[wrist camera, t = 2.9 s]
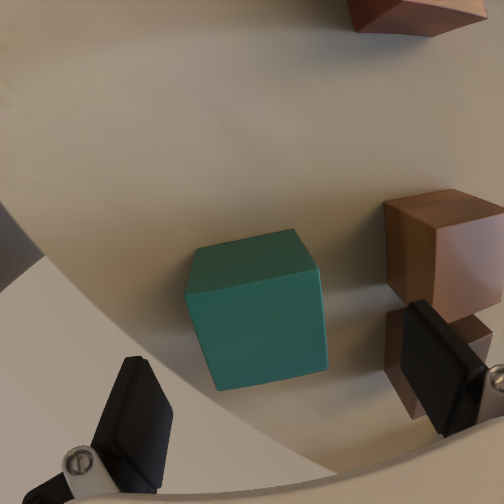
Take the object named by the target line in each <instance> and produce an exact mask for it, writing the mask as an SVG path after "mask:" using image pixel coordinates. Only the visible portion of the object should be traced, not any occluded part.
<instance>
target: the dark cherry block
mask: <svg viewBox="0 0 504 504" xmlns="http://www.w3.org/2000/svg"><path fill="white" fill-rule="evenodd" d="M347 3H348V6H349V10H350V13H351V17H352V20H353V24H354V27H355V31H356V32H357V33H391V34H406V35H418V36H428V37H434V36H437V35H439V34H442V33H445V32H448V31H451V30H454V29H457V28H460V27H463V26H466V25H469V24H473V23H476V22H479V21H483V20H486V19H488V16H487V13H486V10H485V7H484V4H483V1H482V0H347Z"/></svg>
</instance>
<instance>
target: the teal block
mask: <svg viewBox="0 0 504 504" xmlns="http://www.w3.org/2000/svg"><path fill="white" fill-rule="evenodd" d="M184 300H185V303H186V306H187V309H188V312H189V315H190V317H191V320H192V323H193V326H194V329H195V332H196V335H197V338H198V340H199V343H200V346H201V349H202V352H203V354H204V357H205V360H206V362H207V365H208V368H209V370H210V373H211V376H212V378H213V381H214V384H215V386H216V389H217V390H218V391H223V390H230V389H236V388H242V387H248V386H253V385H259V384H264V383H269V382H274V381H279V380H284V379H289V378H294V377H298V376H302V375H307V374H311V373H315V372H319V371H323V370H327V369H328V368H329V364H328V351H327V339H326V328H325V318H324V308H323V298H322V289H321V280H320V272H319V268H318V267H317V265H316V263H315V262H314V260H313V259H312V257H311V255H310V254H309V252H308V251H307V249H306V248H305V246H304V244H303V243H302V241H301V240H300V238H299V237H298V235H297V234H296V232H295V230H294V229H290V230H285V231H280V232H275V233H270V234H266V235H261V236H256V237H251V238H246V239H242V240H237V241H232V242H227V243H223V244H218V245H213V246H208V247H204V248H199V249H196V252H195V256H194V260H193V263H192V267H191V271H190V274H189V278H188V282H187V286H186V289H185V293H184Z"/></svg>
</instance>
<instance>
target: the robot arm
mask: <svg viewBox="0 0 504 504" xmlns="http://www.w3.org/2000/svg"><path fill="white" fill-rule="evenodd" d="M400 368H401V371H402V373H403V374H404V376H405V378H406V379H407V381H408V383H409V384H410V386H411V388H412V389H413V391H414V393H415V395H416V396H417V398H418V400H419V401H420V403H421V405H422V407H423V408H424V410H425V412H426V414H427V415H428V417H429V419H430V421H431V423H432V424H433V426H434V428H435V430H436V431H437V433H438V434H443V436H444V438H445V439H442V440H440V441H438V442H435V443H433V444H430V445H428V446H425V447H422V448H420V449H417V450H415V451H412V452H409V453H407V454H404V455H401V456H398V457H395V458H392V459H389V460H386V461H383V462H380V463H377V464H374V465H371V466H367V467H364V468H360V469H357V470H353V471H349V472H346V473H342V474H338V475H334V476H329V477H325V478H321V479H316V480H311V481H307V482H301V483H295V484H290V485H284V486H277V487H270V488H263V489H254V490H245V491H235V492H222V493H204V494H157V488H161V486H162V480H163V473H164V467H165V461H166V455H167V448H168V443H169V437H170V431H171V425H172V419H173V410H172V407H171V406H170V403H169V402H168V400H167V398H166V396H165V394H164V392H163V390H162V388H161V386H160V384H159V382H158V380H157V378H156V377H155V375H154V372H153V370H152V368H151V366H150V364H149V362H148V360H146V359H143V358H142V357H141V356H134V357H126V358H125V359H124V362H123V364H122V366H121V369H120V371H119V374H118V376H117V379H116V381H115V383H114V386H113V388H112V391H111V393H110V396H109V398H108V400H107V403H106V406H105V408H104V411H103V413H102V416H101V418H100V421H99V424H98V426H97V429H96V432H95V434H94V437H93V440H92V443H91V446H90V447H89V446H78V447H75V448H73V449H71V450H70V451H69V452H68V453H67V454H66V455H65V456H64V458H63V461H62V470H63V472H62V473H60V474H58V475H57V476H55V477H53V478H52V479H50V480H48V481H46V482H45V483H43V484H41V485H40V486H38V487H36V488H34V489H33V490H31V491H30V492H28V493H27V494H26V496H25V497H24V499H23V502H22V504H504V364H499V365H495V366H493V367H491V368H490V369H489V368H488V367H487V366H486V365H485V363H484V362H483V361H482V360H481V359H480V358H479V357H478V355H477V354H476V353H475V352H474V351H473V350H472V349H471V348H470V346H469V345H468V344H467V343H466V342H465V341H464V340H463V339H462V338H461V336H460V335H459V334H458V333H457V332H456V331H455V330H454V329H453V328H452V327H451V326H450V325H449V324H448V323H447V322H446V321H445V320H444V319H443V318H442V317H441V316H440V315H439V313H438V312H437V311H436V310H435V309H434V308H433V307H432V306H431V305H430V304H429V303H428V302H427V301H426V300H425V299H420V300H416V301H413V302H410V303H409V304H408V307H406V308H405V309H404V321H403V335H402V347H401V357H400Z"/></svg>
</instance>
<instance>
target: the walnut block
mask: <svg viewBox="0 0 504 504" xmlns="http://www.w3.org/2000/svg"><path fill="white" fill-rule="evenodd" d="M404 309H405V308H404ZM404 309H400V310H397V311H394V312H390V313H387V331H386V351H385V366H384V371H385V373H386V375H387V376H388V378H389V380H390V382H391V383H392V385H393V387H394V389H395V390H396V392H397V394H398V396H399V398H400V399H401V401H402V403H403V405H404V406H405V408H406V410H407V412H408V414H409V415H410V417H411V419H412V420H414V419H416V418H419V417H421V416H424V415H426V412H425V410H424V408H423V407H422V405H421V403H420V401H419V400H418V398H417V396H416V395H415V393H414V391H413V389H412V388H411V386H410V384H409V383H408V381H407V379H406V378H405V376H404V374H403V373H402V371H401V368H400V357H401V347H402V335H403V321H404ZM448 324H449V325H450V326H451V327H452V328H453V329H454V330H455V331H456V332H457V333H458V334H459V335H460V336H461V338H462V339H463V340H464V341H465V342H466V343H467V344H468V345H469V346H470V348H471V349H472V350H473V351H474V352H475V353H476V354H477V355H478V357H479V358H480V359H481V360H482V361H483V362H484V363H485V361H486V358H487V354H488V351H489V347H490V344H491V340H492V336H493V332H492V331H491V330H490V329H489V328H488V327H487V326H486V325H485V324H484V323H483V322H481V321H480V320H479V319H478V318H477V317H476V316H475V315H474V314H471V315H469V316H466V317H464V318H461V319H459V320H456V321H454V322H451V323H448Z"/></svg>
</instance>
